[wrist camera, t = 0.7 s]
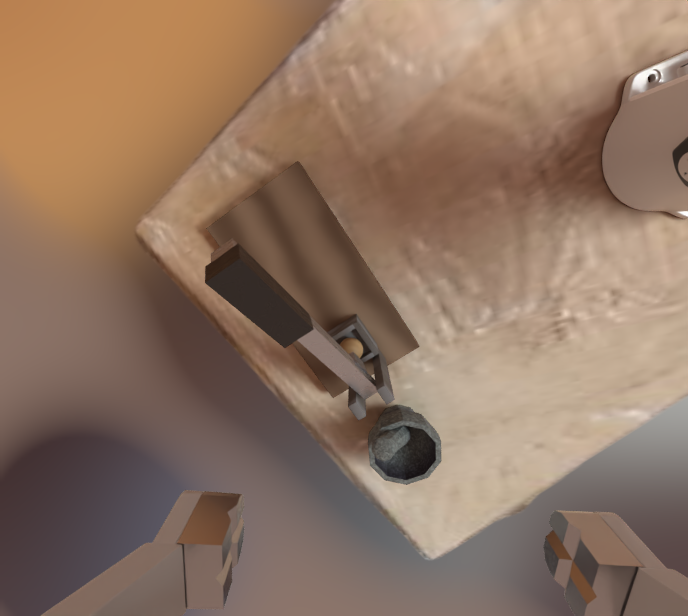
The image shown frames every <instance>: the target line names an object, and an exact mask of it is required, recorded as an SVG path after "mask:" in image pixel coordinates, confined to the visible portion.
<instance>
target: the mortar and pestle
mask: <svg viewBox="0 0 688 616" xmlns="http://www.w3.org/2000/svg"><path fill="white" fill-rule="evenodd" d="M368 446H369V458H370V466H371V467H372V468H373V469H374V470H375V471H376V472H377V473H378V474H379V475H380V476H381V477H382V478H383V479H384V480H386V481H391V482H396V483H401V484H406V485H407V484H410V483H413V482H416V481H419V480H422V479H425V478H428V477H429V476H430V475H431V473H432V472H433V471H434V470H435V468H436V467H437V466H438V465H439V463H440V462H441V440H440V437H439V435H438V433H437V432H436V430H435V429H434V428H433V427H432V426H431V425H430V423H429V422H428V421H427V420H426V419H425V418H424V417H423V416H422V415H421V414H418V413H415V412H414V411H413V410H412V409H411V408H410V407H406V406H401V405H395V406H393V407H390V408H387V409H385V410H384V412H383V413H382V414H381V416H380V417H379V419H378V422H377V423H376V424H375V426H374V427H373V428H372V430H371V431H370V433H369V437H368Z"/></svg>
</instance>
